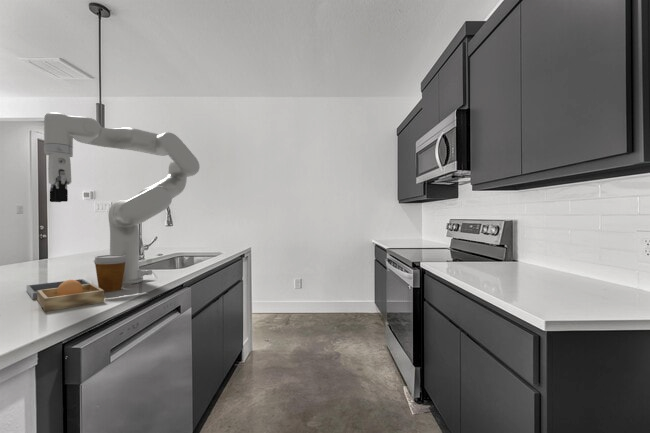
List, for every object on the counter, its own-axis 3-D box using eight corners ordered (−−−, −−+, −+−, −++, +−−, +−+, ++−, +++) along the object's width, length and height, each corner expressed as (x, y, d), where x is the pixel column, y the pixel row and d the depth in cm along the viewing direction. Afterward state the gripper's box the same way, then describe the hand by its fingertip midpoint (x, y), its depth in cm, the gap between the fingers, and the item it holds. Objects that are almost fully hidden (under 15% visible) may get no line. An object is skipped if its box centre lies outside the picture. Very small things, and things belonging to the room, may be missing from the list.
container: (82, 285, 119) (82, 279, 119) (93, 292, 109) (93, 285, 109) (26, 293, 108) (26, 285, 108) (32, 301, 97) (32, 293, 97)
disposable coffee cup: (133, 289, 114) (133, 255, 114) (107, 296, 105) (108, 258, 105) (112, 287, 117) (113, 253, 117) (86, 293, 108) (86, 257, 108)
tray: (92, 294, 107) (92, 283, 107) (103, 302, 98) (104, 290, 98) (37, 302, 97) (37, 290, 97) (44, 311, 88) (44, 298, 88)
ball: (80, 296, 102) (80, 277, 102) (85, 299, 98) (84, 279, 98) (55, 300, 97) (55, 280, 97) (59, 304, 93) (59, 283, 93)
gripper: (78, 149, 108) (78, 201, 108) (67, 155, 119) (67, 202, 119) (48, 145, 102) (48, 200, 102) (40, 152, 114) (40, 201, 114)
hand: (58, 201), depth 111 cm, fingers open, 9 cm apart
